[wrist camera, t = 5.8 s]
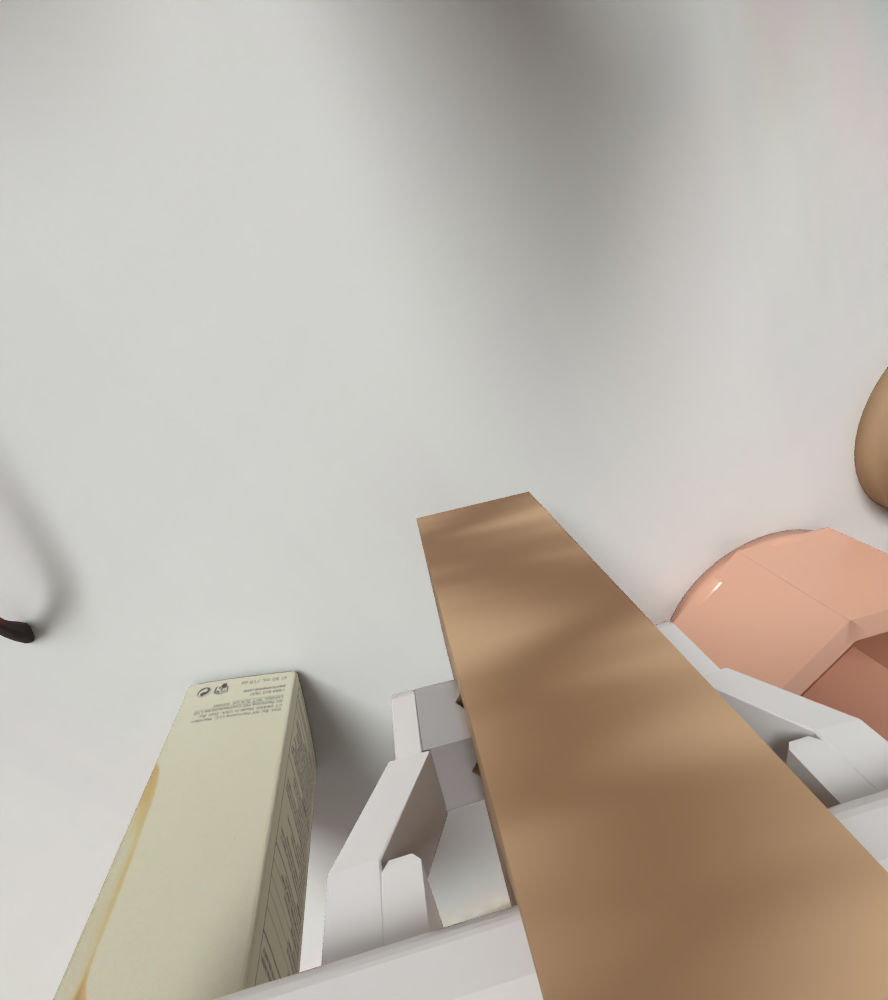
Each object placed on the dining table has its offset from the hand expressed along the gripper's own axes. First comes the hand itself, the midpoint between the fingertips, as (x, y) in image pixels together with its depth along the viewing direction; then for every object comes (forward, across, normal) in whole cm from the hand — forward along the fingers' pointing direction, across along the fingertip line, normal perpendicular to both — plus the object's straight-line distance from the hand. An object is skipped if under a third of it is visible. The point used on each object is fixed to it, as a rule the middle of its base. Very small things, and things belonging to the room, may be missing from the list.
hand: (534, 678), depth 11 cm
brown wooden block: (+5, 0, 0) cm, 5 cm away
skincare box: (+8, +10, +7) cm, 15 cm away
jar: (+8, -14, +9) cm, 18 cm away
